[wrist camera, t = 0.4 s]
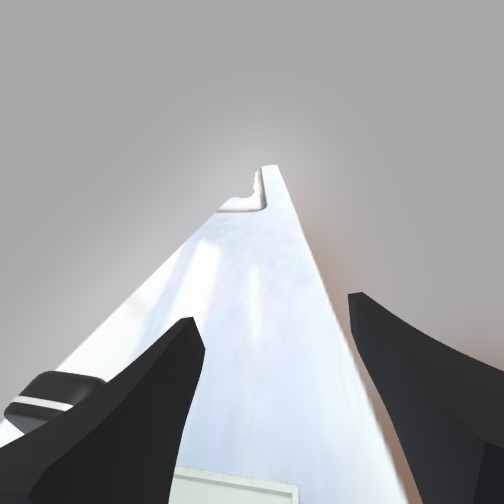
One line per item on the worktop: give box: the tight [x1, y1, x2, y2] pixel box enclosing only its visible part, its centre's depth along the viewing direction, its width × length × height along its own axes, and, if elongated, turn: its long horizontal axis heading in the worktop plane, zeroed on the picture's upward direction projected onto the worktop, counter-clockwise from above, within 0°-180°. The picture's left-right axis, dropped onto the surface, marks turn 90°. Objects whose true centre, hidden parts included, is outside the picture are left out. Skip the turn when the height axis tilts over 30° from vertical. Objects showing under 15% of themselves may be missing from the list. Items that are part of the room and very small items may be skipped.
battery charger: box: [4, 371, 106, 434], centre depth 21 cm, size 7×4×11 cm, turn 80°
